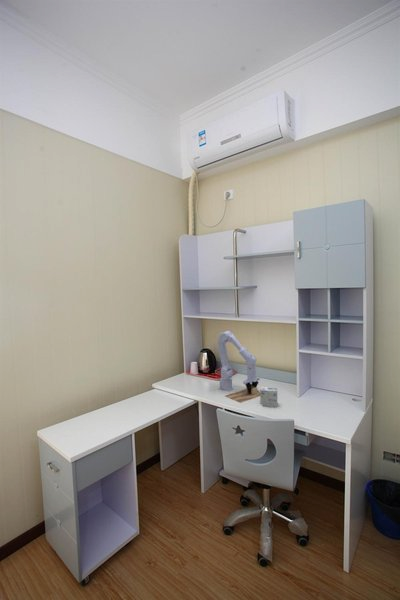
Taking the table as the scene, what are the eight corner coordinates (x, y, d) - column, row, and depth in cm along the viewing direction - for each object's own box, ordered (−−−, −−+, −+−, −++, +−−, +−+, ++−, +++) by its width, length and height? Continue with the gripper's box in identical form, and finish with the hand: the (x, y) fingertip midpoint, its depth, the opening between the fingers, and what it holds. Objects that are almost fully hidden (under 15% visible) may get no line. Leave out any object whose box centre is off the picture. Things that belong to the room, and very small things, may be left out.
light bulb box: (277, 403, 199) (277, 387, 198) (277, 407, 192) (277, 390, 192) (260, 402, 202) (260, 386, 201) (260, 406, 195) (259, 389, 194)
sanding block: (246, 391, 217) (246, 386, 217) (250, 390, 220) (250, 385, 220) (253, 394, 212) (253, 389, 212) (257, 393, 214) (257, 387, 214)
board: (224, 397, 211) (224, 395, 211) (248, 389, 225) (248, 388, 225) (240, 404, 198) (240, 402, 198) (265, 395, 212) (265, 394, 212)
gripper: (248, 376, 208) (248, 396, 208) (262, 372, 216) (262, 391, 217) (241, 374, 213) (241, 393, 214) (255, 370, 222) (255, 388, 223)
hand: (251, 392), depth 216 cm, fingers closed on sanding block, 4 cm apart
